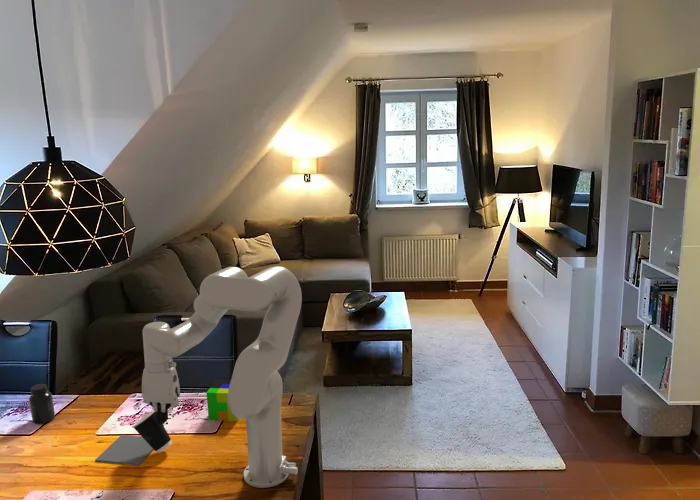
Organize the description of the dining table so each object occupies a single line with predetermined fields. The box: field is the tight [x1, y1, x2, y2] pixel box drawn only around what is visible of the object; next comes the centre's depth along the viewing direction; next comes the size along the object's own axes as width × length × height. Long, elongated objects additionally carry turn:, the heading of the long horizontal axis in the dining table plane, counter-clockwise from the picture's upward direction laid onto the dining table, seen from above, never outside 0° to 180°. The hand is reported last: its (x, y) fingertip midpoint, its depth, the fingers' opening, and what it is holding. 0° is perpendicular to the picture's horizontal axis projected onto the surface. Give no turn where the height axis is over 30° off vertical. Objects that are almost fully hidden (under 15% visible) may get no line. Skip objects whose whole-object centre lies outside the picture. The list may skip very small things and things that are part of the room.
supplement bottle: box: [28, 383, 56, 425], centre depth 194 cm, size 7×7×12 cm
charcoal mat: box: [95, 434, 155, 466], centre depth 176 cm, size 14×14×1 cm
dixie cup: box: [131, 409, 173, 454], centre depth 174 cm, size 8×8×11 cm
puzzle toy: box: [206, 378, 240, 422], centre depth 197 cm, size 10×10×10 cm
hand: (162, 422), depth 172 cm, fingers closed
